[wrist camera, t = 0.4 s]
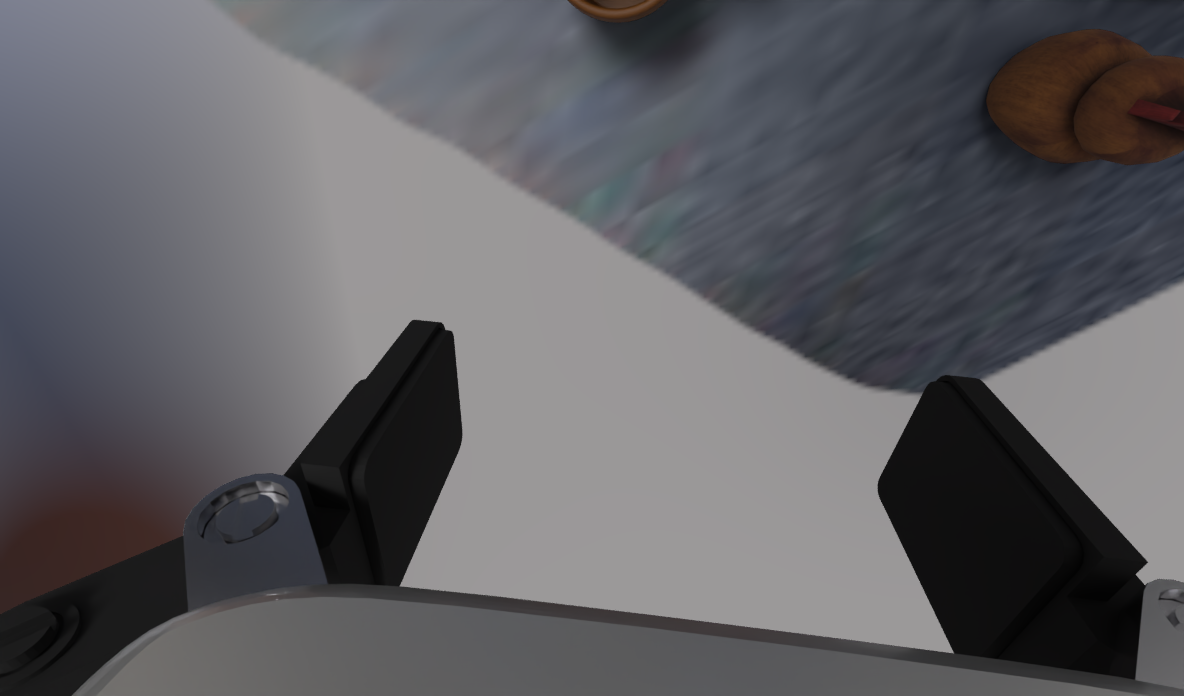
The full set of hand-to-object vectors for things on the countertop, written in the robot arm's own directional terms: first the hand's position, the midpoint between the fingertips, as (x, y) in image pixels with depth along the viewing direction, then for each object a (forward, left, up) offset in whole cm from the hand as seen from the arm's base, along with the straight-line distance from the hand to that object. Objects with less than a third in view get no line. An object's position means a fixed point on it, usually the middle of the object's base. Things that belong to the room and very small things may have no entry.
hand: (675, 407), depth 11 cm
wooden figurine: (-5, +22, -31) cm, 38 cm away
